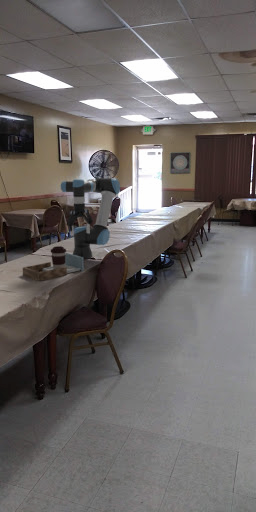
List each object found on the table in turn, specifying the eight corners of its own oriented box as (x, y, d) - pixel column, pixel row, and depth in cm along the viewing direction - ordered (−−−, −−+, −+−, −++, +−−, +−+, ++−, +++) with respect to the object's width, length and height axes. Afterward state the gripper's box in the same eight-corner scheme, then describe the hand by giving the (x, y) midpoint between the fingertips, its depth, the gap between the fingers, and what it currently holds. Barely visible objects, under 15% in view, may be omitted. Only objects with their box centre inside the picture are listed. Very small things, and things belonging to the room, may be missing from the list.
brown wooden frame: (50, 269, 264) (49, 262, 263) (66, 274, 250) (66, 267, 249) (22, 275, 250) (22, 267, 249) (39, 281, 237) (38, 273, 235)
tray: (66, 265, 273) (66, 253, 271) (83, 270, 260) (83, 257, 258) (41, 271, 259) (40, 257, 257) (57, 276, 246) (57, 262, 244)
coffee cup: (67, 270, 254) (66, 248, 251) (52, 272, 251) (51, 249, 248) (65, 267, 263) (64, 245, 260) (50, 268, 260) (49, 246, 257)
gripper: (90, 201, 271) (91, 231, 276) (60, 204, 254) (61, 236, 259) (97, 201, 266) (98, 232, 271) (67, 204, 249) (68, 237, 254)
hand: (80, 234), depth 265 cm, fingers open, 13 cm apart
